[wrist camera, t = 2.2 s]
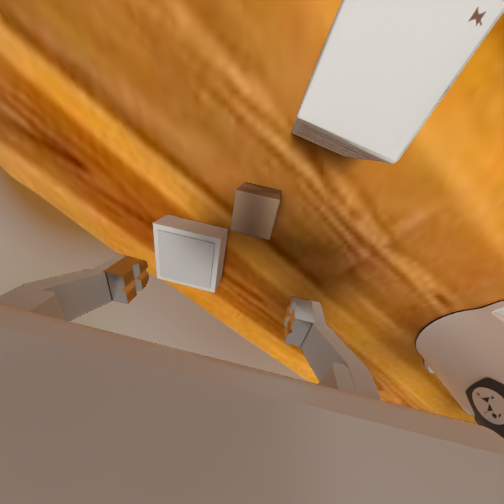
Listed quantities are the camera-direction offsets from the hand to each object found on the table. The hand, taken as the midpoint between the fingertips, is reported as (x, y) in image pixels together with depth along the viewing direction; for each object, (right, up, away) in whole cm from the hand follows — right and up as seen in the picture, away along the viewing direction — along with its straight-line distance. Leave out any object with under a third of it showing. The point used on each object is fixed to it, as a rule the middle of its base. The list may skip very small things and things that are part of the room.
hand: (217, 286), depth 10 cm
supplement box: (+11, +18, +11) cm, 24 cm away
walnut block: (+3, +9, +17) cm, 19 cm away
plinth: (-8, +2, +22) cm, 23 cm away
